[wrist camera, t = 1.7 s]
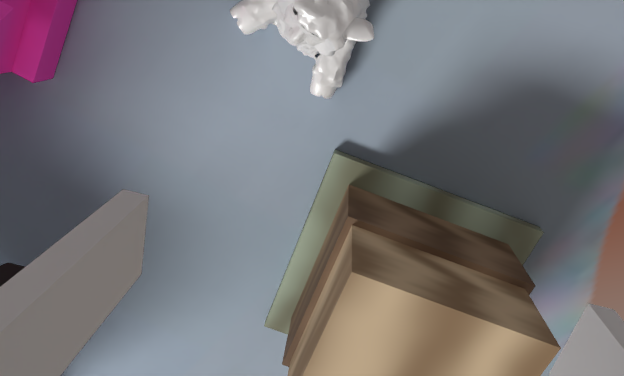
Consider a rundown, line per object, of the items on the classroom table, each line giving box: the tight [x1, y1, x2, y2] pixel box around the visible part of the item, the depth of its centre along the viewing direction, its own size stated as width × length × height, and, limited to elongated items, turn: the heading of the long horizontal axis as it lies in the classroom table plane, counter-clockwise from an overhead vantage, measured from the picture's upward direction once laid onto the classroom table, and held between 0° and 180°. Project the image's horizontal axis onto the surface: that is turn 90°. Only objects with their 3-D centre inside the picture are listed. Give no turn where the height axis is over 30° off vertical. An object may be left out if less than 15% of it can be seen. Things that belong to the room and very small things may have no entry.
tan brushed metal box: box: [264, 150, 561, 376], centre depth 35 cm, size 18×18×13 cm
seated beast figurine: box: [230, 0, 374, 99], centre depth 28 cm, size 10×9×12 cm
